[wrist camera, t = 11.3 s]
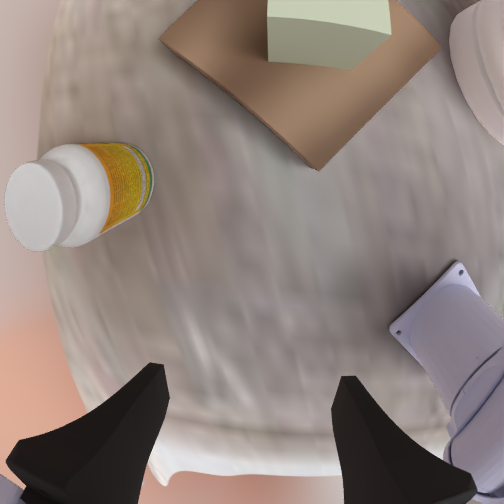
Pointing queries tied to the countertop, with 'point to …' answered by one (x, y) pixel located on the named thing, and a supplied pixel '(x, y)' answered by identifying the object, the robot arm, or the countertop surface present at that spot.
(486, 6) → the honey pot
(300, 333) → the countertop surface
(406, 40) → the walnut base
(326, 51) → the sage block
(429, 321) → the robot arm
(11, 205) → the supplement bottle
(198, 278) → the countertop surface
